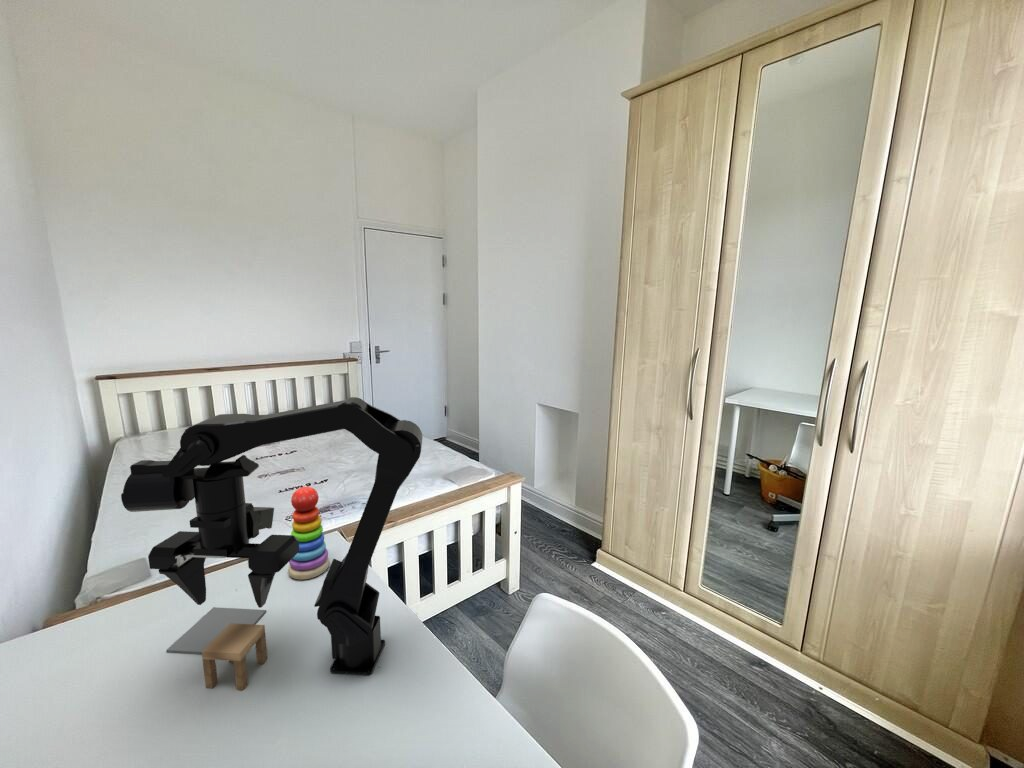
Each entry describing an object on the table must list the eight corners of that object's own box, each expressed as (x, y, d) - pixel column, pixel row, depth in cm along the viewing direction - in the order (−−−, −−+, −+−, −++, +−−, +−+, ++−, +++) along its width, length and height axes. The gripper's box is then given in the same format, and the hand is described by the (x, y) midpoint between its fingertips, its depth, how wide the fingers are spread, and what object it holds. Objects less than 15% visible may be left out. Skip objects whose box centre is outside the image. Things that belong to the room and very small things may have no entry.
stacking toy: (280, 574, 87) (273, 489, 84) (313, 555, 94) (308, 476, 91) (304, 586, 83) (298, 498, 80) (337, 565, 90) (333, 484, 87)
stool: (267, 658, 66) (264, 625, 65) (243, 690, 60) (239, 653, 59) (233, 657, 66) (229, 623, 65) (205, 688, 60) (201, 651, 59)
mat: (266, 611, 76) (266, 609, 76) (226, 655, 66) (226, 653, 66) (213, 609, 76) (213, 607, 76) (166, 652, 66) (166, 650, 66)
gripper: (315, 484, 66) (321, 573, 69) (202, 481, 67) (212, 569, 70) (271, 517, 55) (280, 622, 58) (138, 512, 56) (152, 616, 59)
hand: (232, 604), depth 61 cm, fingers open, 9 cm apart
